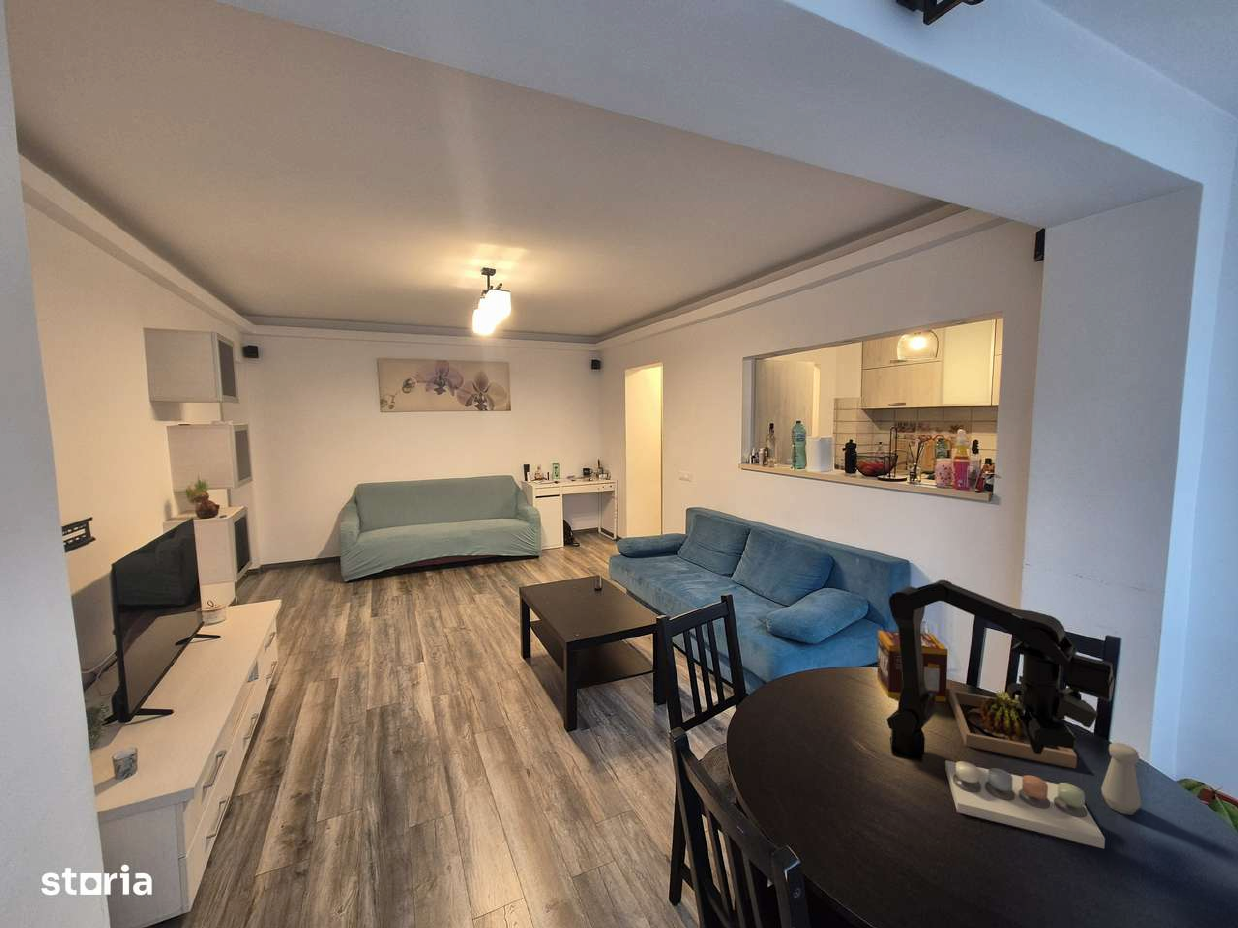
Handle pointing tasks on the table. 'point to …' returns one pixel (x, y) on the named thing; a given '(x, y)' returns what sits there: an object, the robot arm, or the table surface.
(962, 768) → the ivory button
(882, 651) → the supplement box
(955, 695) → the planter tray
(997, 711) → the cactus
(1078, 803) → the sage button
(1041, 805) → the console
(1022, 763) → the table surface
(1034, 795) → the terracotta button
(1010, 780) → the slate button
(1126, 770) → the salt shaker
